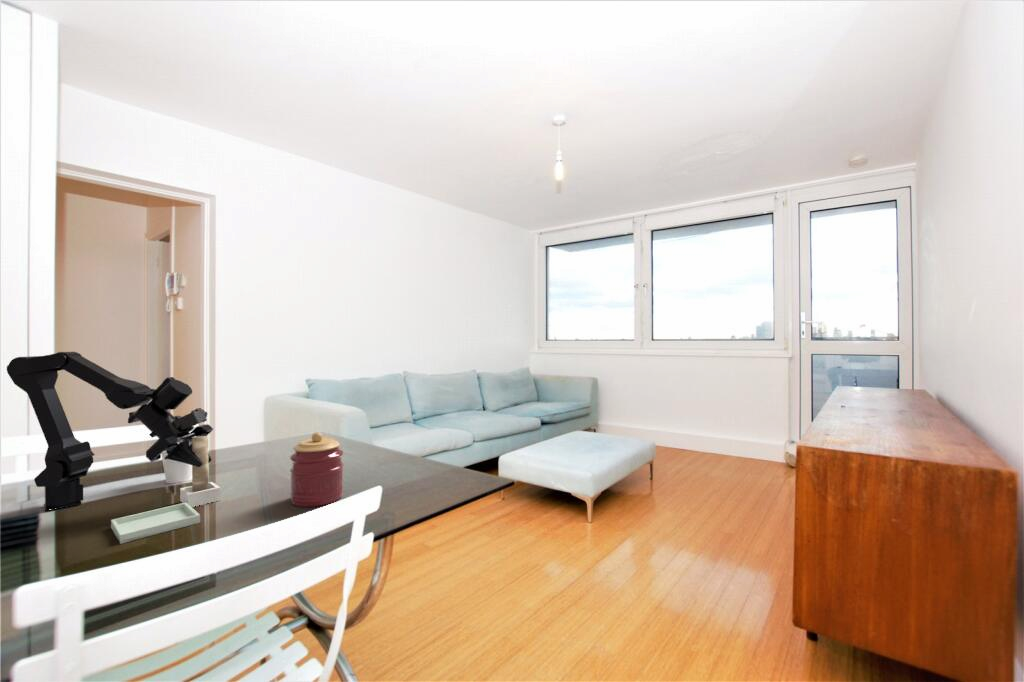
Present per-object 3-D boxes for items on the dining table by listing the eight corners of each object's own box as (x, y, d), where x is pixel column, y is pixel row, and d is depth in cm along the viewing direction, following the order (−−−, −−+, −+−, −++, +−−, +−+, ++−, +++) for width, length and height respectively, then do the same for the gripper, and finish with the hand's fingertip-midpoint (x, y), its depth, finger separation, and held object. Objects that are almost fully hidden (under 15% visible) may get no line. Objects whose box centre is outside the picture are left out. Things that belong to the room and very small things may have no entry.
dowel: (194, 494, 114) (194, 439, 114) (190, 491, 116) (190, 437, 116) (210, 490, 117) (210, 437, 117) (206, 487, 119) (206, 435, 119)
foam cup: (206, 475, 138) (205, 434, 138) (181, 485, 129) (180, 440, 129) (178, 474, 139) (177, 433, 139) (151, 484, 130) (150, 440, 130)
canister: (352, 497, 119) (352, 431, 119) (303, 512, 109) (302, 440, 109) (329, 487, 127) (329, 425, 127) (282, 499, 118) (281, 433, 118)
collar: (187, 508, 112) (187, 494, 112) (180, 501, 116) (180, 488, 116) (220, 500, 117) (220, 487, 117) (212, 494, 122) (211, 481, 122)
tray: (120, 543, 93) (120, 535, 93) (111, 527, 100) (111, 519, 100) (200, 522, 103) (200, 514, 103) (186, 509, 111) (186, 502, 111)
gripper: (158, 405, 107) (207, 450, 108) (205, 395, 125) (246, 433, 126) (123, 438, 106) (172, 483, 107) (176, 423, 125) (217, 462, 126)
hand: (205, 463), depth 117 cm, fingers closed on dowel, 3 cm apart
